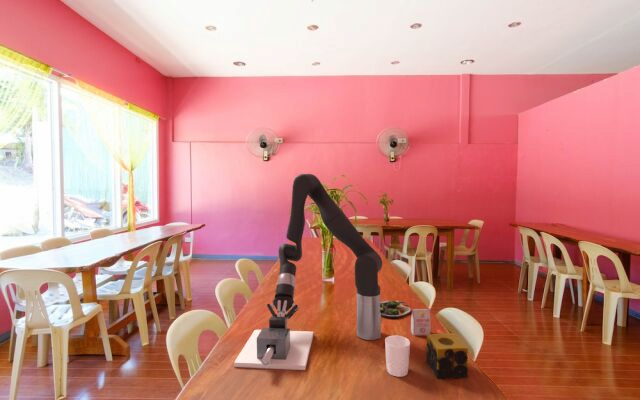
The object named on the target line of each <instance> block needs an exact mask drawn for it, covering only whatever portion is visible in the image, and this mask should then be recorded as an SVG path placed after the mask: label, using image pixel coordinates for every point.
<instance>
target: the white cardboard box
mask: <svg viewBox="0 0 640 400" xmlns="http://www.w3.org/2000/svg"><path fill="white" fill-rule="evenodd" d="M431 321H432V320H431V313H430V309H429V308H421V309H420V308H415V309H414V308H413V309H411V316H410V333H411V334H412V336H414V337H415V336H416V337H417V336H420V337H421V336H425V337H426V335H427V334H431V326H432V325H431V323H432V322H431Z"/></svg>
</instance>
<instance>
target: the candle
mask: <svg viewBox="0 0 640 400" xmlns="http://www.w3.org/2000/svg"><path fill="white" fill-rule="evenodd" d="M425 337H426V340H425V341H426V351H425V353H426V354H425V357H426V361H425V362H426V364H427V365H428V367H429V368H430V370H431V372H432V373H433V374H434V377H435V379H437V380H438V379H440V380H441V379H444V380H446V379H447V380H448V379H449V380H450V379H467V378H468V377H469V374H468V372H469V367H468V360H469V358H468V357H469V356H468V351H469V346H467V345H466V344H465V343H464V342H463V341H462V340H461V339H460V337H459V336H458V335H457V333H455V332H450V333H449V332H448V333H430V334H427V335H426V336H425Z"/></svg>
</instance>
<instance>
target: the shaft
mask: <svg viewBox="0 0 640 400" xmlns="http://www.w3.org/2000/svg"><path fill="white" fill-rule="evenodd" d="M268 328H286V329H288V319H287V317H274V316H270V318H269V320H268ZM275 348H276V345H269V347H268V349H267V351H266V353H265V355H264V357H263V359H262V364H263V365H268V364H269V362H270V359H271V357H272V355H273V353H274V350H275Z"/></svg>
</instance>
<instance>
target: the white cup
mask: <svg viewBox="0 0 640 400" xmlns="http://www.w3.org/2000/svg"><path fill="white" fill-rule="evenodd" d="M384 343H385V346H384V347H385V350H384V351H385V363H386V371H387V373H388V374H389V375H391V376H394V377H398V378H401V377H405V376H407V375H408V372H409V365H410V355H411V354H410V350H411V342H410V340H409V339H408V338H407V337H405V336H402V335H396V334H395V335H389V336H387V337H385V339H384Z"/></svg>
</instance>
